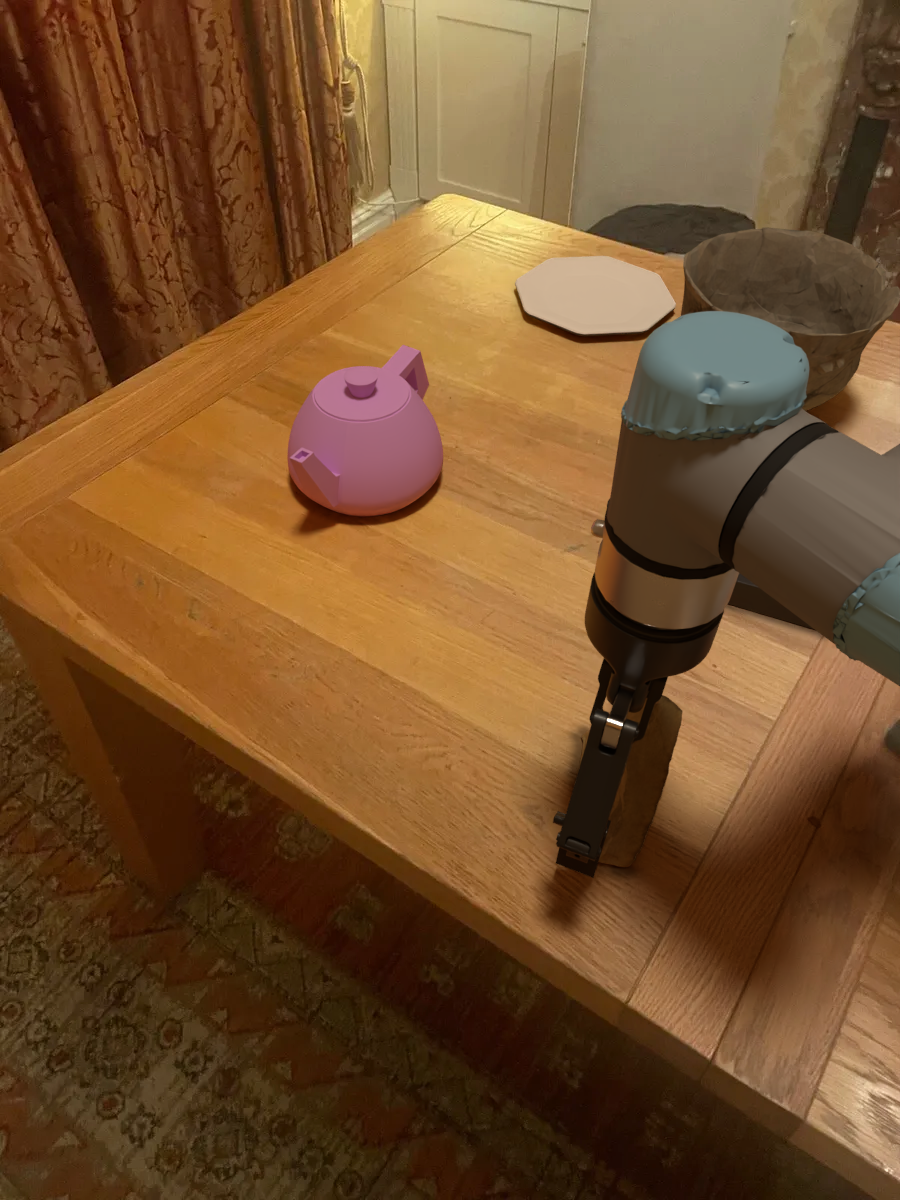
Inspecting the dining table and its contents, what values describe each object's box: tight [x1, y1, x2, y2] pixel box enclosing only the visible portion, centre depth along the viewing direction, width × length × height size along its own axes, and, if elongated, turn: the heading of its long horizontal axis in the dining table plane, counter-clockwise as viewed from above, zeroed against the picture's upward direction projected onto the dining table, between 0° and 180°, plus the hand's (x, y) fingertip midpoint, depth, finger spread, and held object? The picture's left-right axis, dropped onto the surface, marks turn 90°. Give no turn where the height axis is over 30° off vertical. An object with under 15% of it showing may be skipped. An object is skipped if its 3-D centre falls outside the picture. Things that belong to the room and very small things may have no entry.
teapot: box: [286, 344, 444, 517], centre depth 89 cm, size 22×16×12 cm
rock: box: [577, 694, 683, 868], centre depth 65 cm, size 11×9×10 cm
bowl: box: [680, 226, 900, 412], centre depth 99 cm, size 22×22×15 cm
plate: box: [514, 255, 677, 337], centre depth 118 cm, size 20×20×2 cm
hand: (603, 786), depth 66 cm, fingers open, 13 cm apart
